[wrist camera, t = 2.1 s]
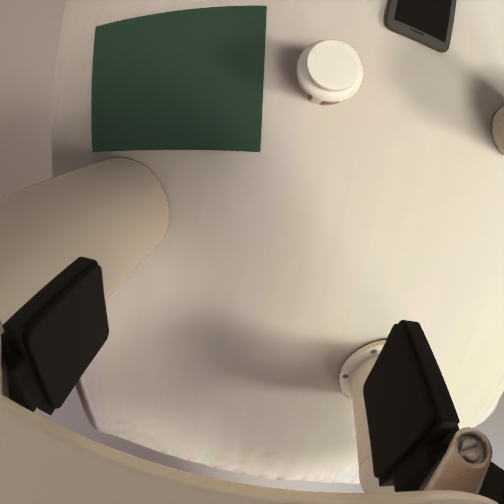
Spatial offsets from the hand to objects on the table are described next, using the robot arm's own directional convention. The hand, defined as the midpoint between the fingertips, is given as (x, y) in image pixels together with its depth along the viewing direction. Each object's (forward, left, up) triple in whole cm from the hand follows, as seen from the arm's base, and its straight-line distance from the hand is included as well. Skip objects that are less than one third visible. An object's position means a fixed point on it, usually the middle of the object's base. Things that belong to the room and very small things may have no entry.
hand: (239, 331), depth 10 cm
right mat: (+12, -10, -26) cm, 30 cm away
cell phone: (-15, -23, -26) cm, 38 cm away
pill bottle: (-4, -10, -26) cm, 28 cm away
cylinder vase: (+18, +5, -26) cm, 32 cm away
